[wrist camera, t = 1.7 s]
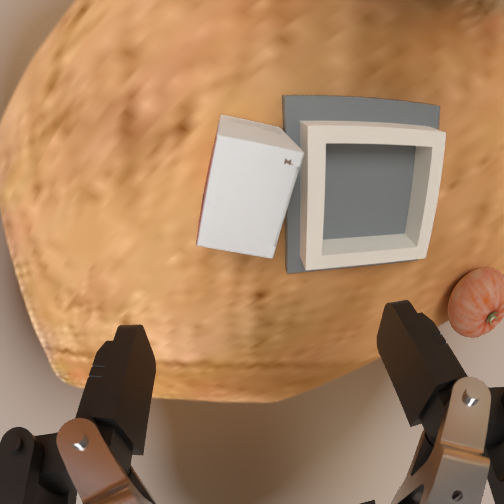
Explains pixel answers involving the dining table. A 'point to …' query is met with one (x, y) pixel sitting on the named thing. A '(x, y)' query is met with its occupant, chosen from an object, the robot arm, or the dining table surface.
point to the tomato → (477, 302)
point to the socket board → (361, 181)
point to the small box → (247, 187)
